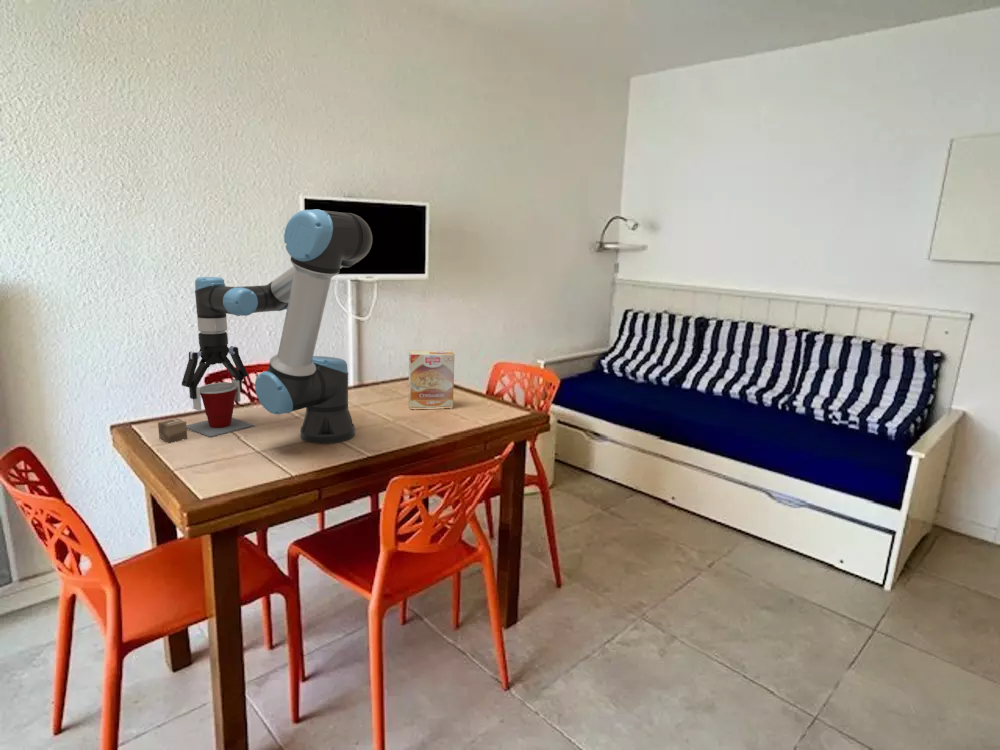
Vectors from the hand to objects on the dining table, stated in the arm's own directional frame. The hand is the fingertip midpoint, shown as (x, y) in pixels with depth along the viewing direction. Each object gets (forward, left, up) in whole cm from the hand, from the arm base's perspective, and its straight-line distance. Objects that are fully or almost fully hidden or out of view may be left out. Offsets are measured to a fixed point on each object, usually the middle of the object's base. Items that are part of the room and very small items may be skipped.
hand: (217, 405), depth 173 cm
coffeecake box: (-33, -58, -7) cm, 67 cm away
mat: (0, 0, -7) cm, 7 cm away
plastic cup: (0, 0, -6) cm, 6 cm away
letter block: (0, +14, -7) cm, 15 cm away
